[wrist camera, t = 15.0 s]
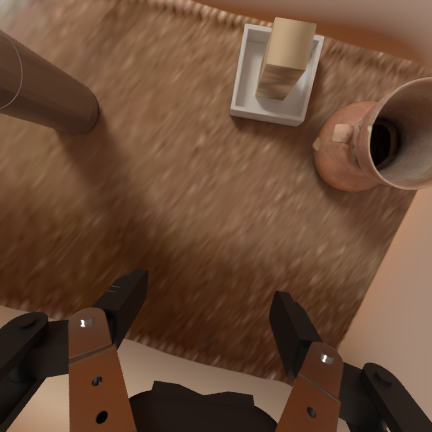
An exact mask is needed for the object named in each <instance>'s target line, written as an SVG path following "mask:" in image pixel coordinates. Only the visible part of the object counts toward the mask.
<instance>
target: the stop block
mask: <svg viewBox="0 0 432 432" xmlns="http://www.w3.org/2000/svg"><path fill="white" fill-rule="evenodd" d="M315 29H316V24H313V23H307V22H301V21H296V20H289V19H284V18H278V17H276V18H275V21H274V24H273V27H272V30H271V33H270V37H269V40H268V43H267V46H266V50H265V53H264V56H263V59H262V62H261V67H260V72H259V77H258V82H257V87H256V92H255V96H259V97H264V98H270V99H276V100H281V101H283V100H284V99H285V98H286V96H287V95H288V94H289V92H290V91H291V90H292V88H293V87H294V85H295V84H296V83H297V81H298V80H299V79H300V77H301V76H302V75H303V73H304V72H305V71H306V68H307V63H308V59H309V55H310V51H311V46H312V42H313V38H314V34H315Z"/></svg>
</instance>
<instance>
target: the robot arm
mask: <svg viewBox="0 0 432 432" xmlns="http://www.w3.org/2000/svg"><path fill="white" fill-rule="evenodd" d="M0 113H2V114H5V115H9V116H12V117H15V118H19V119H22V120H26V121H29V122H33V123H36V124H40V125H43V126H47V127H50V128H53V129H57V130H60V131H64V132H67V133H71V134H83V133H86V132H88V131H89V130H90V129H91V128H92V127H93V126H94V125H95V123H96V120H97V117H98V105H97V101H96V99H95V96H94V95H93V93H92V92H91V91H90V90H89V89H88V88H87V87H86V86H85V85H83V84H82V83H80V82H79V81H77V80H76V79H74V78H73V77H71V76H70V75H68V74H67V73H65V72H64V71H62V70H61V69H59V68H58V67H56V66H55V65H53V64H52V63H50V62H49V61H47V60H46V59H44V58H43V57H41V56H40V55H38V54H37V53H35V52H33V51H32V50H30V49H29V48H27V47H26V46H24V45H23V44H21V43H20V42H18V41H17V40H15V39H14V38H12V37H11V36H9V35H8V34H6V33H5V32H3V31H2V30H0ZM147 284H148V270H142V269H134V270H133V272H132V273H131V274H130V275H129V276H126V275H124V276H122V277H121V278H119V279H117V280H116V281H115V282H114V283H113V284H112V286H110V288H109V289H108V290H107V291H106V292H105V293H104V294H103V295H102V296H101V298H100V299H99V300H98V301H97V302H96V303H95V304H94V305H93V306H92V307H91V308H87V309H84V310H81V311H79V312H77V313H76V314H74V315H73V316H72V317H71V318H70V319H69V320H61V321H51V322H48V316H47V315H46V314H45V313H43V312H31V313H27V314H24V315H21V316H18V317H16V318H14V319H12V320H11V321H9V322H8V323H7V324H6V325H4V326H3V327H2V328H1V329H0V432H6V431H7V429H8V428H9V427H10V425H11V424H12V423H13V421H14V420H15V419H16V417H17V416H18V415H19V413H20V412H21V411H22V409H23V408H24V407H25V405H26V404H27V403H28V401H29V400H30V399H31V397H32V396H33V395H34V394H35V392H36V391H37V389H38V388H39V387H40V385H41V384H42V383H43V382H44V380H45V379H46V378H47V377H53V376H58V375H64V374H69V411H70V412H69V413H70V414H69V417H70V432H337V424H338V418H341V419H343V420H345V421H346V423H347V425H348V427H349V430H350V432H388V431H387V430H386V428H387V427H388V428H389V430H390V431H391V432H432V422H431V421H430V420H429V418H428V417H427V416H426V415H425V413H424V412H423V411H422V409H421V408H420V407H419V406H418V404H417V403H416V402H415V401H414V399H413V398H412V397H411V395H410V394H409V393H408V391H407V390H406V389H405V388H404V386H403V385H402V384H401V382H400V381H399V380H398V379H397V378H396V377H395V376H394V375H393V374H392V373H391V372H389V371H388V370H386V369H385V368H383V367H382V366H380V365H377V364H374V363H366V364H365V365H364V367H363V369H359V368H357V367H354V366H352V365H350V364H347V363H345V362H343V360H342V358H341V356H340V355H339V354H338V352H337V351H336V350H334V349H333V348H332V347H330V346H329V345H327V344H325V343H323V341H322V339H321V338H320V336H319V334H318V332H317V331H316V329H315V327H314V325H313V324H312V323H311V320H310V319H309V317H308V315H307V313H306V312H305V310H304V308H302V307H301V306H300V305H299V304H298V303H297V302H294V301H293V299H292V297H291V295H290V293H288V292H281V291H276V292H275V294H274V298H273V301H272V305H271V309H270V313H269V320H270V325H271V328H272V331H273V334H274V337H275V341H276V344H277V347H278V350H279V354H280V357H281V360H282V363H283V366H284V370H285V373H286V376H287V377H288V378H295V379H296V381H295V383H294V386H293V388H292V391H291V393H290V396H289V398H288V401H287V403H286V405H285V408H284V411H283V413H282V415H281V418H280V421H279V423H278V424H277V422H276V421H275V420H274V419H272V418H271V417H270V415H268V414H267V413H266V412H264V411H263V410H261V409H260V408H258V407H256V406H254V400H253V395H249V394H242V393H236V392H222V393H216V394H210V395H201V394H199V393H197V392H195V391H192V390H190V389H188V388H186V387H184V386H182V385H179V384H174V383H167V382H161V381H154V384H153V387H152V390H150V391H145V392H141V393H139V394H137V395H134V396H132V397H131V398H128V394H127V390H126V386H125V382H124V378H123V373H122V370H121V365H120V361H119V357H118V353H117V349H118V348H119V346H120V344H121V342H122V340H123V339H124V337H125V335H126V334H127V332H128V330H129V328H130V326H131V325H132V323H133V321H134V319H135V317H136V316H137V314H138V312H139V310H140V308H141V307H142V305H143V303H144V301H145V298H146V294H147Z"/></svg>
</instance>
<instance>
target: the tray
mask: <svg viewBox="0 0 432 432" xmlns="http://www.w3.org/2000/svg"><path fill="white" fill-rule="evenodd" d="M271 30H272V28H269V27H263V26H257V25H251V24H245V28H244V34H243V40H242V46H241V51H240V57H239V63H238V69H237V75H236V81H235V86H234V92H233V98H232V104H231V110H230V116H236V117H242V118H248V119H254V120H259V121H265V122H271V123H277V124H283V125H289V126H294V127H297V126H298V125H300V124H301V123H302V122H304V119H305V115H306V111H307V106H308V102H309V98H310V94H311V90H312V86H313V82H314V77H315V73H316V69H317V65H318V61H319V57H320V53H321V49H322V44H323V40H324V36H318V35H314V38H313V42H312V46H311V51H310V55H309V59H308V63H307V68H306V71H305V72H304V73H303V75H302V76H301V77H300V79H299V80H298V81H297V83H296V84H295V85H294V87H293V88H292V90H291V91H290V92H289V94H288V95H287V96H286V98H285V99H284V100H283V101H281V100H276V99H270V98H264V97H259V96H255V92H256V87H257V82H258V77H259V72H260V67H261V62H262V59H263V56H264V53H265V50H266V46H267V43H268V40H269V37H270V33H271Z"/></svg>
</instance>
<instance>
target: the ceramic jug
mask: <svg viewBox="0 0 432 432" xmlns="http://www.w3.org/2000/svg"><path fill="white" fill-rule="evenodd" d="M312 149H313V159H314V164H315V167H316V170H317V172H318V173H319V175H320V176H321V178H322V179H323V180H324V181H325V182H326V183H327V184H329V185H330V186H332V187H334V188H336V189H338V190H342V191H346V192H359V191H364V190H368V189H371V188H373V187H375V186H377V185H379V184H384V185H387V186H390V187H393V188H398V189H404V190H417V189H422V188H426V187H430V186H432V77H426V78H421V79H417V80H414V81H411V82H409V83H406V84H404V85H402V86H400V87H399V88H397V89H395V90H394V91H392V92H391V93H389V94H388V95H386V96H385V97H384V98H382V99H381V100H380V101H379V102H374V101H360V102H355V103H352V104H349V105H347V106H344V107H342V108H341V109H339V110H337V111H336V112H335V113H334V114H332V115H331V116H330V117H329V118H328V119H327V120H326V122H325V123H324V124H323V126H322V127H321V129H320V131H319V133H318V135H317V137H316V139H315V141H314V143H313V144H312Z"/></svg>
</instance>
